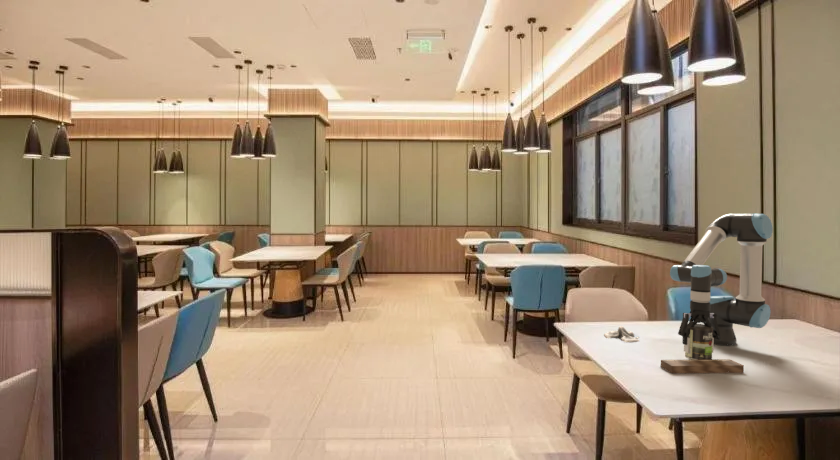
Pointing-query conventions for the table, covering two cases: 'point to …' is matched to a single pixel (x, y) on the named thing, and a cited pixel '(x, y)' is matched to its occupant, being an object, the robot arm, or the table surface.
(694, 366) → the walnut plank
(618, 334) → the cloth
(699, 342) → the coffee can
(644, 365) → the table surface
